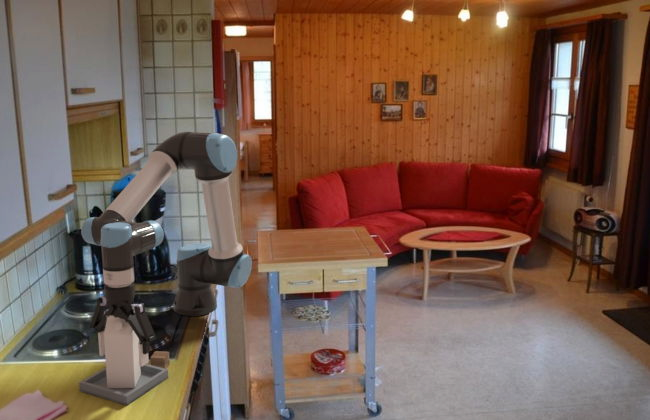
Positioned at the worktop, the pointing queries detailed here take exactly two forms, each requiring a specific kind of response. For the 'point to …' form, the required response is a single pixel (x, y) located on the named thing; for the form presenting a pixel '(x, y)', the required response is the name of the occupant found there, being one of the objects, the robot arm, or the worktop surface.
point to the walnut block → (160, 359)
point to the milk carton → (121, 354)
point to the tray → (125, 396)
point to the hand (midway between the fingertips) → (123, 359)
